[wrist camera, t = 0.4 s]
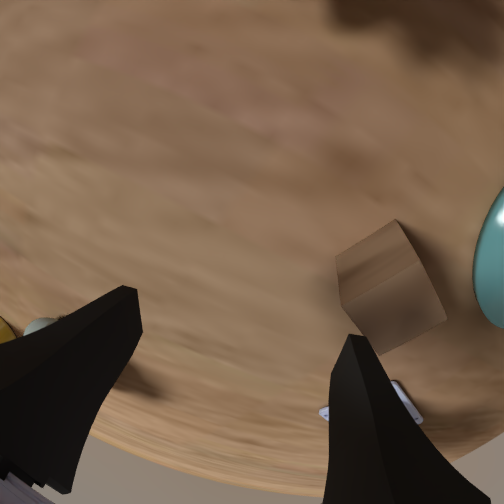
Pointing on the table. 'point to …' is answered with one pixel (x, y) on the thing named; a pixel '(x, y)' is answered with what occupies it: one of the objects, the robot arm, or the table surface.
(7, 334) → the plant pot
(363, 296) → the walnut block
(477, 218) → the table surface
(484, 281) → the dish
